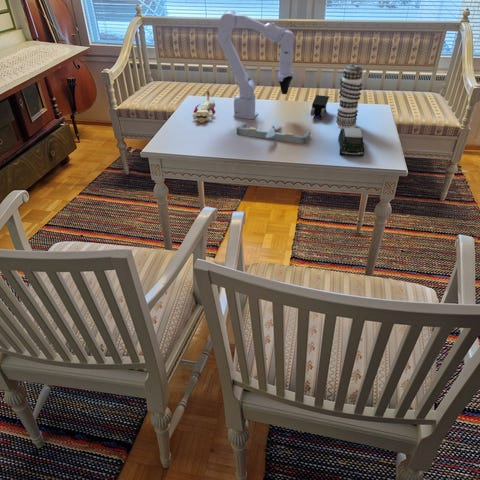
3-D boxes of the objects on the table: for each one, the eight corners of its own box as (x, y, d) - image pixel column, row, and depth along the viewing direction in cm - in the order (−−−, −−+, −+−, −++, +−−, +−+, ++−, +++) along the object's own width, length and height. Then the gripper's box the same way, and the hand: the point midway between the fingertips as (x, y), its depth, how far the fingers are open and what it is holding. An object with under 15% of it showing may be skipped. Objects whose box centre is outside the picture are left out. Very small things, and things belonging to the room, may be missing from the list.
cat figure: (199, 108, 210) (190, 122, 189) (198, 90, 206) (188, 102, 184) (219, 108, 210) (212, 123, 188) (218, 90, 205) (211, 103, 184)
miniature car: (360, 139, 173) (363, 120, 168) (364, 158, 158) (367, 138, 154) (337, 138, 174) (340, 120, 169) (339, 157, 160) (342, 137, 155)
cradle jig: (236, 133, 180) (236, 126, 178) (243, 127, 185) (243, 120, 183) (304, 144, 170) (305, 136, 168) (310, 136, 175) (310, 129, 174)
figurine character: (324, 124, 190) (328, 110, 201) (325, 108, 185) (330, 94, 196) (309, 123, 192) (314, 108, 202) (310, 107, 187) (315, 93, 197)
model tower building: (331, 123, 188) (337, 64, 173) (349, 120, 190) (357, 62, 175) (341, 130, 181) (349, 69, 166) (360, 127, 183) (369, 67, 168)
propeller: (260, 145, 167) (260, 135, 165) (274, 126, 187) (275, 117, 185) (270, 146, 166) (271, 136, 164) (284, 127, 186) (284, 118, 184)
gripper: (289, 66, 175) (288, 99, 183) (299, 58, 185) (297, 90, 193) (273, 65, 177) (272, 97, 185) (284, 57, 188) (283, 88, 196)
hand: (284, 93), depth 189 cm, fingers closed
